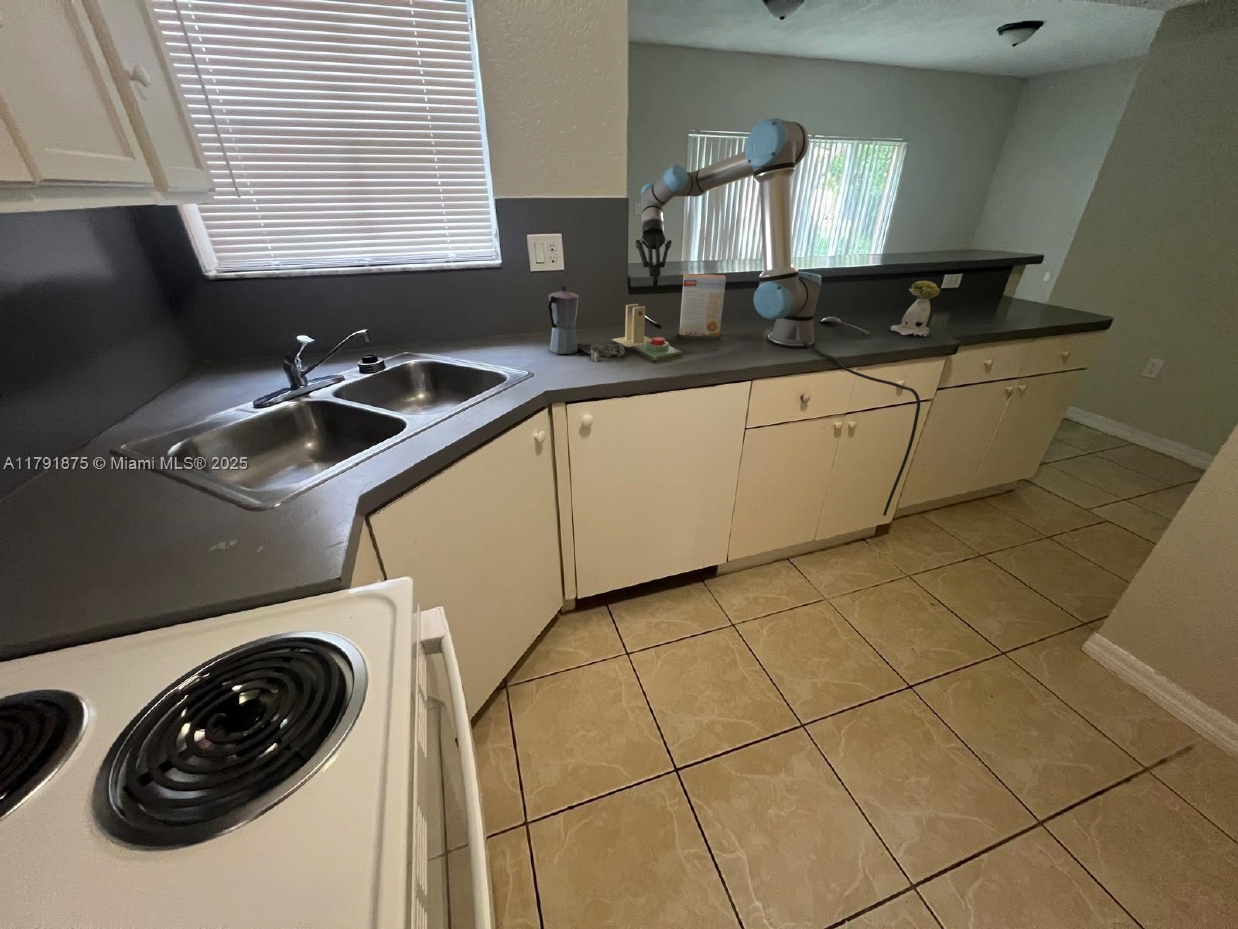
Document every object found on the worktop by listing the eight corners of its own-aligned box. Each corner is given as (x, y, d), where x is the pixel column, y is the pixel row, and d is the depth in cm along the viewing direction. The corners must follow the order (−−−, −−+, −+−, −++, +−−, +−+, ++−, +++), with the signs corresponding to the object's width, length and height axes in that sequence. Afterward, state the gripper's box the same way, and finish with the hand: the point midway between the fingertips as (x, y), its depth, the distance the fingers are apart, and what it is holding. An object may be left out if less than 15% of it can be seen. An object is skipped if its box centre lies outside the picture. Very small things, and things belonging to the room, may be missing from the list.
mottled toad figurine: (590, 361, 148) (590, 348, 146) (590, 354, 155) (589, 341, 153) (625, 361, 149) (625, 348, 147) (623, 353, 155) (623, 341, 153)
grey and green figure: (908, 326, 191) (924, 277, 181) (936, 335, 180) (954, 283, 171) (884, 328, 187) (899, 278, 178) (911, 337, 177) (928, 284, 168)
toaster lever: (650, 327, 168) (653, 320, 167) (659, 330, 164) (662, 324, 164) (626, 311, 159) (630, 304, 159) (635, 314, 156) (638, 307, 155)
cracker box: (717, 335, 175) (725, 274, 164) (719, 340, 170) (726, 277, 159) (678, 334, 176) (683, 272, 165) (678, 338, 171) (684, 276, 160)
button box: (681, 358, 153) (682, 345, 151) (655, 363, 148) (656, 350, 146) (658, 347, 161) (659, 336, 159) (633, 352, 157) (634, 340, 155)
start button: (666, 344, 152) (667, 339, 151) (656, 346, 150) (656, 341, 150) (659, 341, 155) (659, 336, 154) (649, 343, 153) (649, 337, 152)
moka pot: (586, 346, 161) (585, 283, 151) (567, 360, 149) (565, 292, 138) (560, 343, 164) (558, 281, 154) (539, 356, 151) (535, 290, 141)
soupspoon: (829, 322, 197) (816, 324, 195) (830, 313, 196) (817, 315, 193) (873, 334, 180) (860, 336, 177) (875, 325, 178) (862, 327, 176)
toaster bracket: (640, 338, 170) (642, 300, 164) (657, 345, 163) (659, 307, 157) (611, 343, 165) (611, 304, 158) (627, 351, 158) (628, 311, 151)
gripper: (669, 233, 176) (672, 290, 171) (633, 232, 176) (635, 289, 170) (672, 217, 169) (675, 276, 163) (635, 217, 169) (637, 276, 163)
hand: (655, 283), depth 167 cm, fingers closed
